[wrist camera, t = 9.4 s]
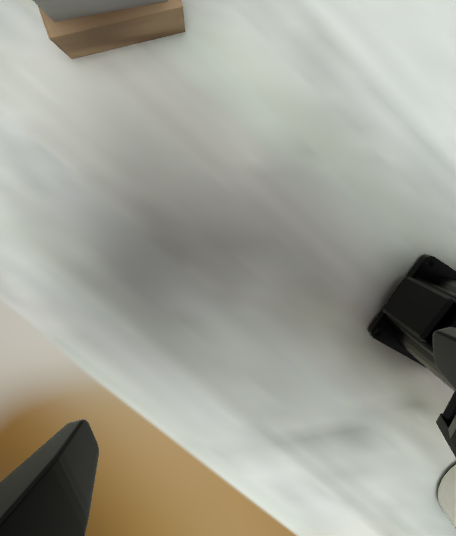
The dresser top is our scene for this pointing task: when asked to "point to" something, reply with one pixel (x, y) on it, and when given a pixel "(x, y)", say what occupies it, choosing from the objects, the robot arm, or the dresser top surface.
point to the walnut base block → (115, 28)
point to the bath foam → (448, 494)
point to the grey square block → (87, 7)
